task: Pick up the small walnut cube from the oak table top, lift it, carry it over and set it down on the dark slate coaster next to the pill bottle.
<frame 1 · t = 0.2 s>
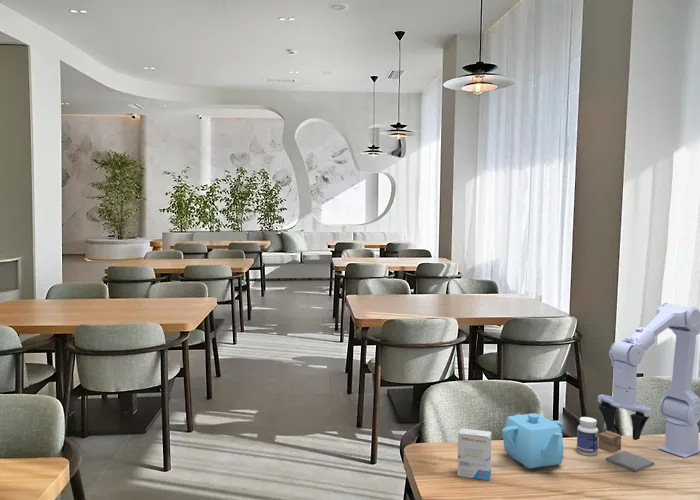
hand: (622, 434, 162), 10 cm above the table, fingers open, 7 cm apart
pill bottle: (587, 452, 174), on the table
ink box: (474, 475, 159), on the table
teapot: (535, 464, 166), on the table
walnut cube: (609, 449, 177), on the table
slate coaster: (629, 462, 167), on the table
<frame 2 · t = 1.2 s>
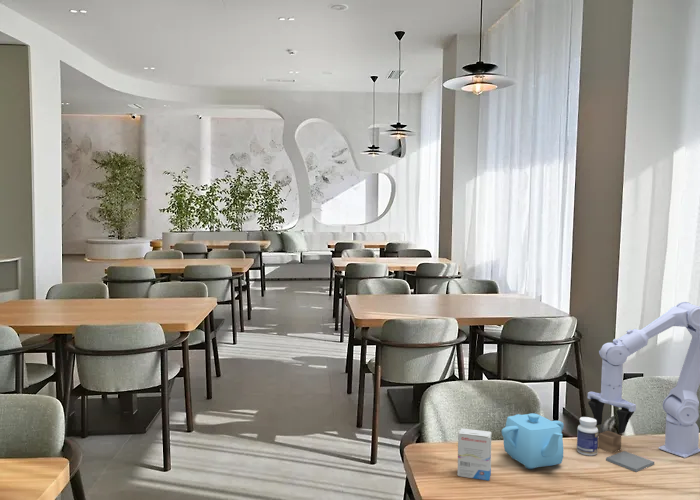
hand: (609, 428, 176), 6 cm above the table, fingers open, 7 cm apart
nothing on the table moved.
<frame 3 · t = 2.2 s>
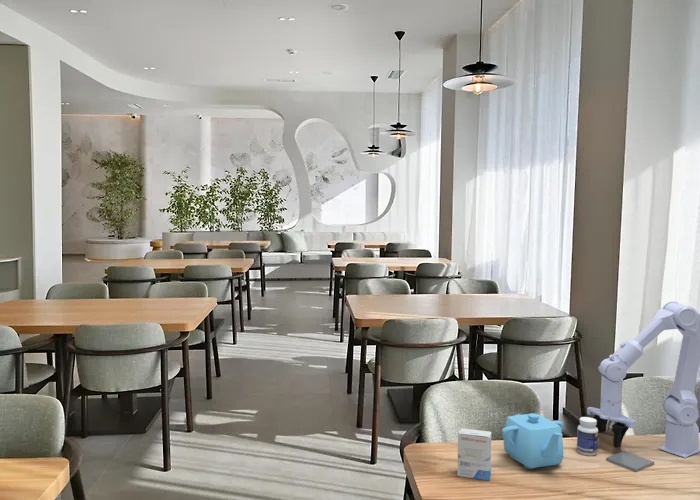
hand: (609, 444, 177), 1 cm above the table, fingers closed on walnut cube, 4 cm apart
walnut cube: (609, 448, 177), on the table, touching gripper
everything else where it was.
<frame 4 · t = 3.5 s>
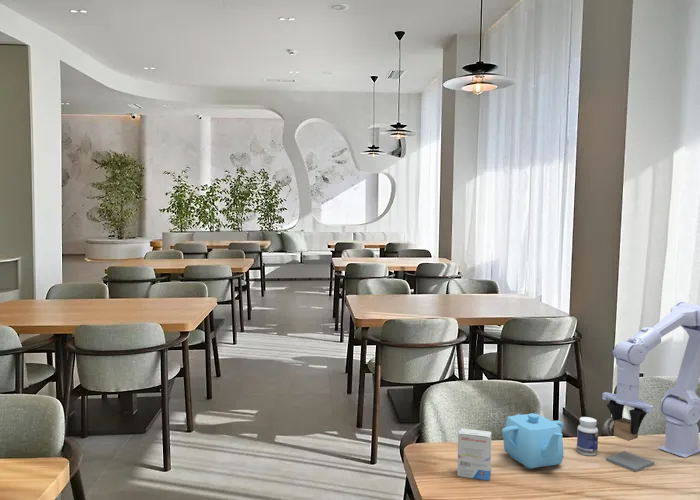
hand: (626, 430, 169), 8 cm above the table, fingers closed on walnut cube, 4 cm apart
walnut cube: (625, 436, 169), point 7 cm above the table, touching gripper
everything else where it was.
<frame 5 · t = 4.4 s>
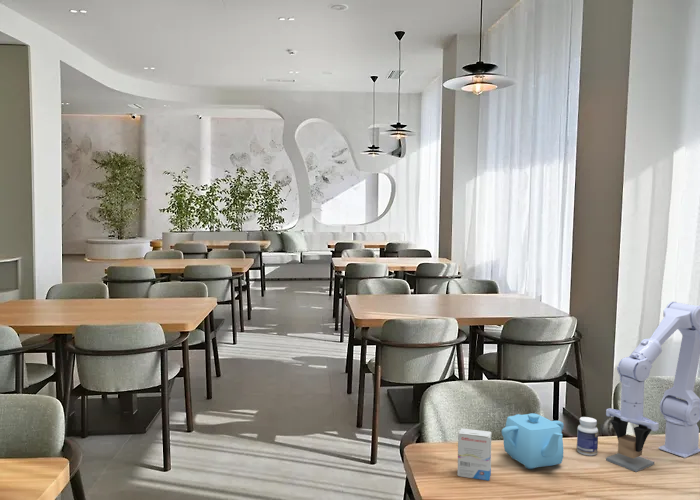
hand: (630, 447, 167), 4 cm above the table, fingers closed on walnut cube, 4 cm apart
walnut cube: (629, 453, 167), point 2 cm above the table, touching gripper
everything else where it was.
when the fingers open (4 cm above the table, at t = 5.0 s): walnut cube stays where it is, resting on slate coaster.
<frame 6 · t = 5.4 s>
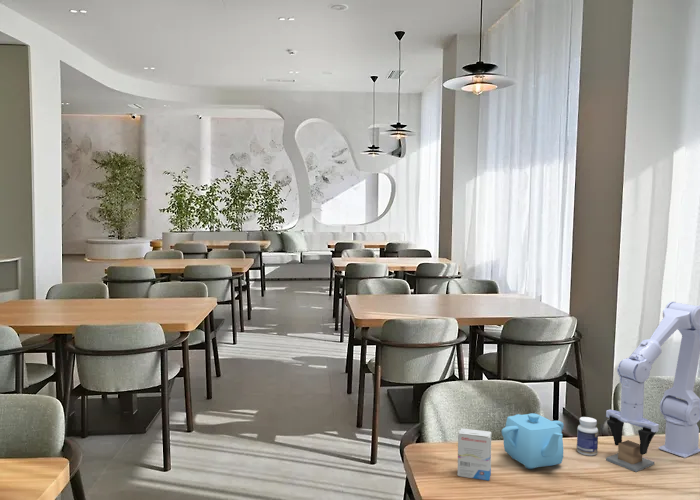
hand: (630, 449, 167), 4 cm above the table, fingers open, 7 cm apart
walnut cube: (630, 459, 167), point 1 cm above the table, touching slate coaster
everything else where it was.
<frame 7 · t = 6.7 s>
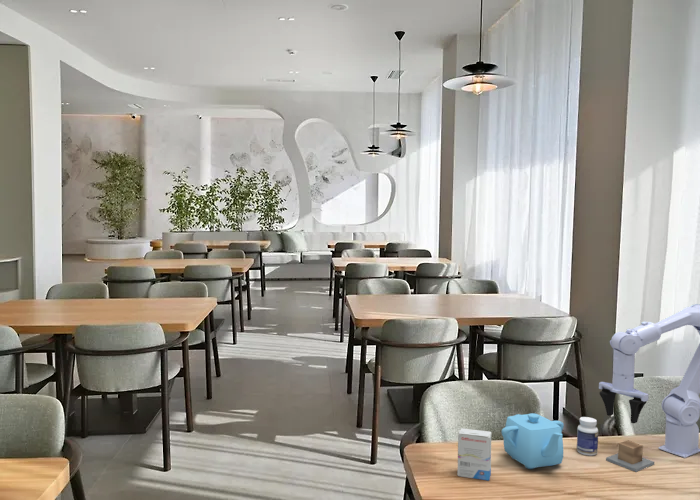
hand: (621, 418, 174), 10 cm above the table, fingers open, 7 cm apart
nothing on the table moved.
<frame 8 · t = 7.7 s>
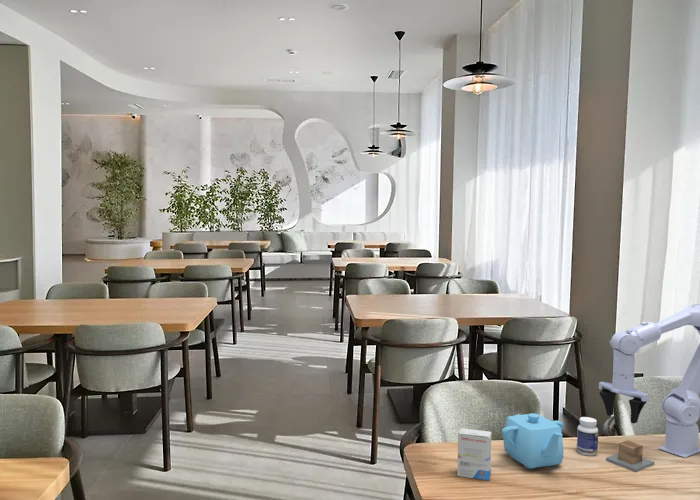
hand: (621, 418, 174), 10 cm above the table, fingers open, 7 cm apart
nothing on the table moved.
at the end: walnut cube inside the target area on the slate coaster (0.1 cm from its centre), point 0.8 cm above the slate coaster's base; walnut cube tilted 0°; the gripper is holding nothing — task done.
